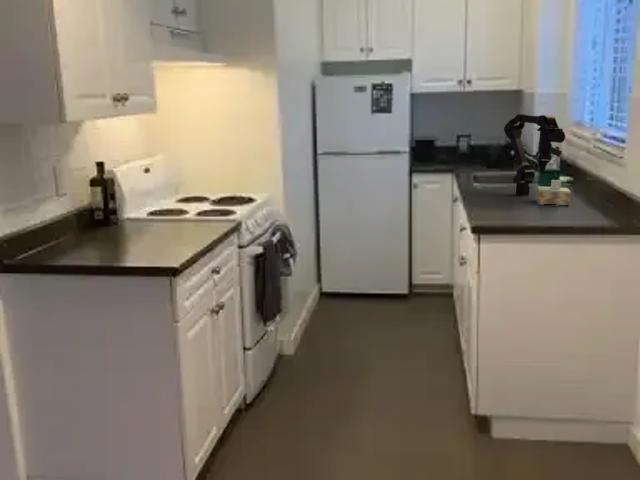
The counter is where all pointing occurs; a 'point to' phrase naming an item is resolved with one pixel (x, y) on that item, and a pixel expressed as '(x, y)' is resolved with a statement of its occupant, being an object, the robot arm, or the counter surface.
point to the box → (552, 197)
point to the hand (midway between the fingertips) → (541, 172)
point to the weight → (555, 184)
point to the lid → (548, 189)
